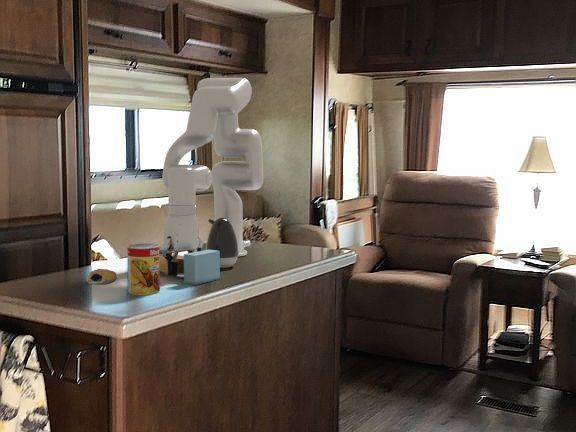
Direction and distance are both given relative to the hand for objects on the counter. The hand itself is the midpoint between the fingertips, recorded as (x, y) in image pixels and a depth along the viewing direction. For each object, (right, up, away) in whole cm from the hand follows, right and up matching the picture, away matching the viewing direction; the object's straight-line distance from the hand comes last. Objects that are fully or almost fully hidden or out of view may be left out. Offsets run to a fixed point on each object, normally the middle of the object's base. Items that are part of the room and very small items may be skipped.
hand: (182, 272), depth 197 cm
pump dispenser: (+9, 0, +18) cm, 20 cm away
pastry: (-21, -2, -5) cm, 22 cm away
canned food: (-7, -4, -18) cm, 20 cm away
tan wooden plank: (-2, 0, +2) cm, 3 cm away
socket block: (+6, -2, -4) cm, 8 cm away
